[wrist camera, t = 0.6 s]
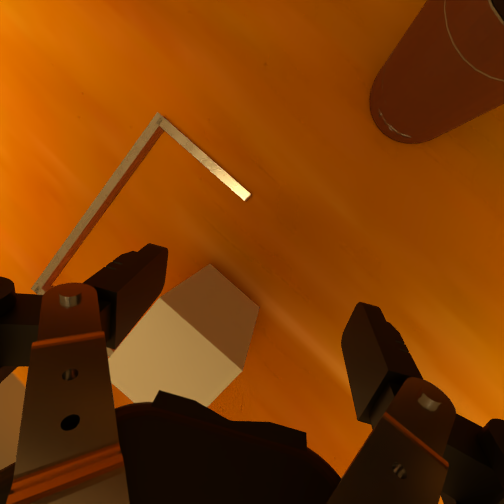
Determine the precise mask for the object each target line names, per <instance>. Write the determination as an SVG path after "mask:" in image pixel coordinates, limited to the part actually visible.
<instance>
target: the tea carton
mask: <svg viewBox="0 0 504 504" xmlns="http://www.w3.org/2000/svg"><path fill="white" fill-rule="evenodd" d="M259 308H260V307H259V306H258V305H256V304H255V303H254V302H253V301H252V300H251V299H250V298H248V297H247V296H246V295H245V294H244V293H243V292H242V291H241V290H239V289H238V288H237V287H236V286H235V285H234V284H233V283H231V282H230V281H229V280H228V279H227V278H226V277H225V276H223V275H222V274H221V273H220V272H219V271H218V270H217V269H216V268H214V267H213V266H212V265H211V264H209V265H207V266H206V267H204V268H203V269H201V270H200V271H198V272H197V273H195V274H194V275H192V276H191V277H189V278H188V279H186V280H185V281H183V282H182V283H181V284H179V285H178V286H176V287H175V288H173V289H172V290H170V291H169V292H167V293H166V294H164V295H163V296H161V297H160V298H159V299H158V300H157V301H156V302H155V304H154V305H153V306H152V307H151V308H150V310H149V311H148V312H147V313H146V314H145V316H144V317H143V318H142V319H141V320H140V322H139V323H138V324H137V325H136V326H135V328H134V329H133V330H132V331H131V332H130V334H129V335H128V336H127V337H126V338H125V340H124V341H123V342H122V343H121V344H120V346H119V347H118V348H117V349H116V350H115V351H114V353H113V354H112V355H111V356H110V357H109V359H108V363H109V370H110V378H111V383H112V384H114V385H115V386H116V387H117V388H118V389H119V390H120V391H122V392H123V393H124V394H125V395H126V396H127V397H128V398H130V399H131V400H132V401H133V402H134V403H139V402H153V401H154V399H155V397H156V395H157V393H158V391H159V390H161V391H165V392H168V393H171V394H175V395H178V396H182V397H185V398H189V399H192V400H195V401H197V402H199V403H200V404H202V405H204V406H205V407H208V406H209V405H210V404H211V403H212V402H213V400H214V399H215V398H216V397H217V396H218V395H219V394H220V393H221V392H222V391H223V390H224V389H225V388H226V387H227V386H228V385H229V384H230V383H231V382H232V381H233V380H234V379H235V378H236V377H237V376H238V375H239V374H240V373H241V372H242V371H243V367H244V363H245V360H246V356H247V352H248V349H249V345H250V341H251V337H252V334H253V330H254V326H255V323H256V319H257V315H258V312H259Z"/></svg>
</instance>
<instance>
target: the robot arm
mask: <svg viewBox="0 0 504 504" xmlns="http://www.w3.org/2000/svg"><path fill="white" fill-rule="evenodd" d="M502 104H504V0H427V2H426V3H425V5H424V6H423V8H422V9H421V11H420V12H419V14H418V15H417V17H416V18H415V19H414V21H413V22H412V24H411V25H410V27H409V28H408V30H407V31H406V33H405V34H404V36H403V37H402V39H401V40H400V42H399V43H398V45H397V46H396V48H395V49H394V51H393V52H392V54H391V55H390V57H389V58H388V60H387V61H386V63H385V64H384V66H383V67H382V68H381V70H380V72H379V73H378V75H377V77H376V78H375V80H374V83H373V86H372V89H371V95H370V109H371V113H372V116H373V119H374V121H375V123H376V125H377V126H378V127H379V129H380V130H381V131H382V132H383V133H384V134H386V135H387V136H388V137H390V138H391V139H394V140H396V141H399V142H403V143H421V142H425V141H429V140H431V139H433V138H435V137H437V136H439V135H441V134H443V133H445V132H447V131H449V130H452V129H454V128H456V127H458V126H460V125H462V124H464V123H466V122H468V121H470V120H472V119H474V118H476V117H478V116H480V115H482V114H484V113H486V112H488V111H490V110H492V109H494V108H496V107H498V106H500V105H502ZM167 260H168V249H167V248H165V247H161V246H158V245H154V244H151V243H149V244H147V245H146V246H145V247H143V248H142V249H141V250H139V251H138V252H135V251H131V252H128V253H125V254H122V255H120V256H119V257H117V258H116V259H115V260H113V262H111V263H109V264H108V265H107V266H106V267H104V268H102V269H101V270H100V271H98V272H97V273H96V274H94V275H93V276H91V277H90V278H89V279H87V280H86V281H85V282H83V283H66V284H61V285H57V286H55V287H53V288H51V289H49V290H48V291H46V292H45V293H44V295H35V294H18V293H15V287H14V283H13V282H12V281H11V280H10V279H8V278H4V277H0V383H1V382H2V381H3V380H4V379H5V378H6V377H7V376H8V375H9V374H10V373H11V372H12V371H14V370H15V369H16V368H17V367H18V366H29V368H28V375H27V382H26V389H25V398H24V404H23V411H22V420H21V426H20V433H19V441H18V448H17V455H16V462H15V463H13V464H11V465H9V466H7V467H5V468H4V469H2V470H0V504H438V502H439V499H440V495H441V497H442V500H443V503H444V504H504V420H501V419H491V420H490V421H489V422H488V423H487V424H486V425H485V426H484V427H481V426H479V425H477V424H475V423H473V422H471V421H470V420H468V419H466V418H464V417H462V416H460V415H458V414H456V410H455V407H454V405H453V403H452V402H451V401H450V399H449V398H448V397H447V396H446V395H445V394H444V393H443V392H442V391H441V390H440V389H439V388H437V387H436V386H435V385H433V384H431V383H430V382H428V381H426V380H423V378H422V376H421V374H420V372H419V370H418V368H417V366H416V364H415V362H414V360H413V358H412V356H411V355H410V353H408V352H409V351H408V349H407V347H406V345H404V341H403V339H402V337H401V335H400V333H399V332H398V331H397V330H396V329H395V328H394V327H393V326H392V325H391V324H390V323H389V322H386V320H385V318H384V316H383V313H382V311H381V309H380V308H379V307H377V306H373V305H370V304H366V303H362V302H359V303H358V304H357V305H356V307H355V309H354V311H353V313H352V315H351V317H350V319H349V321H348V323H347V325H346V327H345V330H344V332H343V335H342V340H341V346H342V351H343V356H344V360H345V365H346V369H347V374H348V379H349V383H350V388H351V392H352V397H353V401H354V406H355V411H356V415H357V420H358V421H361V422H364V423H368V424H371V425H372V429H373V430H372V432H371V433H370V435H369V436H368V438H367V440H366V441H365V443H364V444H363V446H362V447H361V449H360V450H359V452H358V453H357V455H356V456H355V458H354V460H353V461H352V463H351V464H350V466H349V467H348V469H347V470H346V472H345V473H344V475H343V476H342V478H340V476H339V475H338V474H337V473H336V471H335V470H334V469H333V468H332V467H331V466H330V465H329V464H328V463H327V462H326V461H325V460H324V459H323V458H321V457H320V456H319V455H318V454H316V453H315V452H314V451H312V450H311V449H309V448H307V441H306V432H302V431H299V430H295V429H292V428H288V427H285V426H282V425H278V424H275V423H271V422H251V421H231V420H228V419H226V418H224V417H222V416H221V415H219V414H217V413H216V412H214V411H212V410H211V409H209V408H207V407H205V406H204V405H202V404H200V403H199V402H197V401H195V400H192V399H189V398H185V397H182V396H178V395H175V394H171V393H168V392H165V391H161V390H159V391H158V393H157V395H156V397H155V399H154V401H153V402H139V403H133V404H128V405H124V406H121V407H118V408H114V400H113V393H112V385H111V378H110V370H109V363H108V355H107V348H111V349H114V350H115V349H116V348H117V347H118V345H119V344H120V343H121V342H122V340H123V339H124V338H125V337H126V336H127V334H128V333H129V332H130V331H131V329H132V328H133V327H134V326H135V324H136V323H137V322H138V321H139V319H140V318H141V317H142V316H143V314H144V313H145V312H146V311H147V310H148V308H149V307H150V306H151V305H152V303H153V302H154V301H155V300H156V298H157V297H158V296H159V295H160V293H161V291H162V289H163V286H164V283H165V276H166V268H167ZM106 347H107V348H106Z"/></svg>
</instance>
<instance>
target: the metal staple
mask: <svg viewBox="0 0 504 504" xmlns="http://www.w3.org/2000/svg"><path fill="white" fill-rule="evenodd" d="M164 130H165V131H166V132H167V133H168V134H169V135H170V136H171V137H172V138H174V139H175V140H176V141H177V142H178V143H179V144H180V145H182V146H183V147H184V148H185V149H186V150H187V151H188V152H190V153H191V154H192V155H193V156H194V157H195V158H196V159H197V160H199V161H200V162H201V163H202V164H203V165H204V166H205V167H207V168H208V169H209V170H210V171H211V172H212V173H213V174H214V175H216V176H217V177H218V178H219V179H220V180H221V181H222V182H224V183H225V184H226V185H227V186H228V187H229V188H230V189H231V190H233V191H234V192H235V193H236V194H237V195H238V196H239V197H241V198H242V199H243V200H244V201H247V200H248V199H249V197H250V196H251V195H252V194H251V193H249V192H248V191H247V190H246V189H245V188H244V187H243V186H241V185H240V184H239V183H238V182H237V181H236V180H235V179H234V178H232V177H231V176H230V175H229V174H228V173H227V172H226V171H224V170H223V169H222V168H221V167H220V166H219V165H218V164H216V163H215V162H214V161H213V160H212V159H211V158H210V157H209V156H207V155H206V154H205V153H204V152H203V151H202V150H201V149H199V148H198V147H197V146H196V145H195V144H194V143H193V142H192V141H190V140H189V139H188V138H187V137H186V136H185V135H184V134H182V133H181V132H180V131H179V130H178V129H177V128H176V127H175V126H173V125H172V124H171V123H170V122H169V121H168V120H167V119H165V118H164V117H163V116H162V115H161V114H159V113H158V112H157V114H156V115H155V116H154V118H153V119H152V121H151V122H150V123H149V125H148V126H147V128H146V129H145V130H144V132H143V133H142V135H141V136H140V137H139V139H138V140H137V142H136V143H135V144H134V146H133V147H132V148H131V150H130V151H129V153H128V154H127V155H126V157H125V158H124V160H123V161H122V162H121V164H120V165H119V167H118V168H117V169H116V171H115V172H114V174H113V175H112V176H111V178H110V179H109V181H108V182H107V183H106V185H105V186H104V188H103V189H102V190H101V192H100V193H99V195H98V196H97V197H96V199H95V200H94V202H93V203H92V204H91V206H90V207H89V209H88V210H87V211H86V213H85V214H84V216H83V217H82V218H81V220H80V221H79V223H78V224H77V225H76V227H75V228H74V230H73V231H72V232H71V234H70V235H69V236H68V238H67V239H66V241H65V242H64V243H63V245H62V246H61V248H60V249H59V250H58V252H57V253H56V255H55V256H54V257H53V259H52V260H51V262H50V263H49V264H48V266H47V267H46V269H45V270H44V271H43V273H42V274H41V276H40V277H39V278H38V280H37V281H36V283H35V284H34V285H33V287H32V288H31V289H32V290H33V291H35V292H36V293H37V294H38V295H44V293H45V292H46V291H48V290H49V289H51V288H53V287H52V286H51V284H52V283H53V282H54V280H55V279H56V278H57V276H58V275H59V273H60V272H61V271H62V269H63V268H64V267H65V265H66V264H67V263H68V261H69V260H70V258H71V257H72V256H73V254H74V253H75V252H76V250H77V249H78V247H79V246H80V245H81V243H82V242H83V241H84V239H85V238H86V237H87V235H88V234H89V232H90V231H91V230H92V228H93V227H94V226H95V224H96V223H97V222H98V220H99V219H100V217H101V216H102V215H103V213H104V212H105V211H106V209H107V208H108V206H109V205H110V204H111V202H112V201H113V200H114V198H115V197H116V196H117V194H118V193H119V191H120V190H121V189H122V187H123V186H124V185H125V183H126V182H127V180H128V179H129V178H130V176H131V175H132V174H133V172H134V171H135V170H136V168H137V167H138V165H139V164H140V163H141V161H142V160H143V159H144V157H145V156H146V154H147V153H148V152H149V150H150V149H151V148H152V146H153V145H154V144H155V142H156V141H157V139H158V138H159V137H160V135H161V134H162V133H163V131H164ZM119 346H120V345H118V347H119ZM118 347H117V348H118ZM106 348H107V347H106ZM117 348H116V349H117ZM116 349H115V350H116ZM115 350H114V349H111V348H107V355H108V356H109V357H110V356H111V355H112V354H113V353H114V351H115Z"/></svg>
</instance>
